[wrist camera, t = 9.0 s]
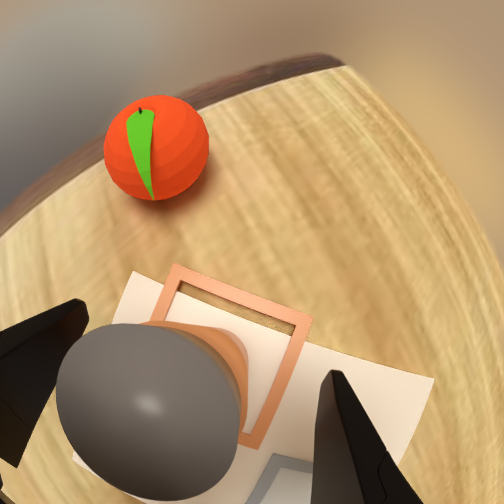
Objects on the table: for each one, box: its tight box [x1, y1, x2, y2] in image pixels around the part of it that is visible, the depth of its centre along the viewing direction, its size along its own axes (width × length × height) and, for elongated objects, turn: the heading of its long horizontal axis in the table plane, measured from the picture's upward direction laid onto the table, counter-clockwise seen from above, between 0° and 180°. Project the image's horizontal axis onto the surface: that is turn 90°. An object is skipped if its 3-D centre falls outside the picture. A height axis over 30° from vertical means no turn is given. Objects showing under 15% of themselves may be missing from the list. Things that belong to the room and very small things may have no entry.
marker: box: [56, 321, 248, 501], centre depth 10 cm, size 4×4×12 cm
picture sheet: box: [72, 263, 434, 504], centre depth 14 cm, size 18×22×1 cm
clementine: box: [104, 95, 209, 201], centre depth 16 cm, size 8×7×7 cm
